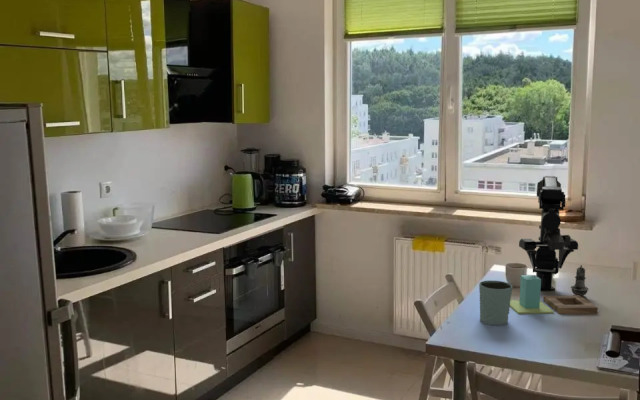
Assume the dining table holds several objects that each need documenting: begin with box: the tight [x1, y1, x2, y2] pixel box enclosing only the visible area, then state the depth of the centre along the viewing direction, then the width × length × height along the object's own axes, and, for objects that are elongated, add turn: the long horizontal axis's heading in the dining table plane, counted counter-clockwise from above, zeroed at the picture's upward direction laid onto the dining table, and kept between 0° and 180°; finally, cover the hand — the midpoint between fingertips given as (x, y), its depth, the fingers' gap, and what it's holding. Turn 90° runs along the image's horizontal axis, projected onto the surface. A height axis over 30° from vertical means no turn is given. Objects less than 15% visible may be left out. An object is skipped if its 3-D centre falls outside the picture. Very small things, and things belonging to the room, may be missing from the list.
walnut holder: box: [542, 294, 599, 315], centre depth 216 cm, size 13×13×2 cm
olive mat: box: [510, 299, 555, 315], centre depth 215 cm, size 12×12×1 cm
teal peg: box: [519, 274, 542, 308], centre depth 214 cm, size 5×5×10 cm
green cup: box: [478, 279, 513, 327], centre depth 201 cm, size 10×10×12 cm
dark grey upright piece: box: [570, 264, 589, 300], centre depth 225 cm, size 6×6×12 cm
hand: (546, 268), depth 219 cm, fingers open, 9 cm apart
